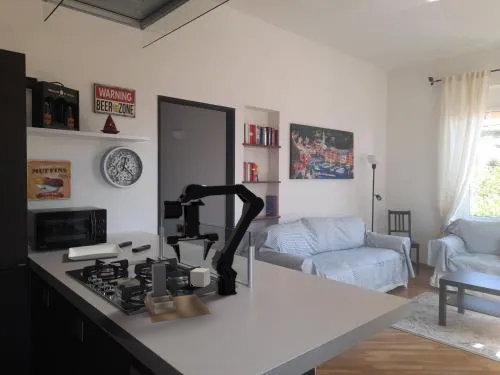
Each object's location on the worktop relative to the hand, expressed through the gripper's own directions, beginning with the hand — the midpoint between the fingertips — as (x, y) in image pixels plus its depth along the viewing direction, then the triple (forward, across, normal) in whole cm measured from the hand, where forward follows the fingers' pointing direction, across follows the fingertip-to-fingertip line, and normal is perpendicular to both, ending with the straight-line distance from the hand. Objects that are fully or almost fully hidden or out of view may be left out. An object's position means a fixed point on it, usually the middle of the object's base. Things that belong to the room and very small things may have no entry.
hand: (192, 261), depth 133 cm
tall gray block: (+12, +12, +4) cm, 18 cm away
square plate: (+14, +33, -98) cm, 104 cm away
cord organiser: (+13, +8, +10) cm, 19 cm away
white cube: (+13, -7, -15) cm, 21 cm away
